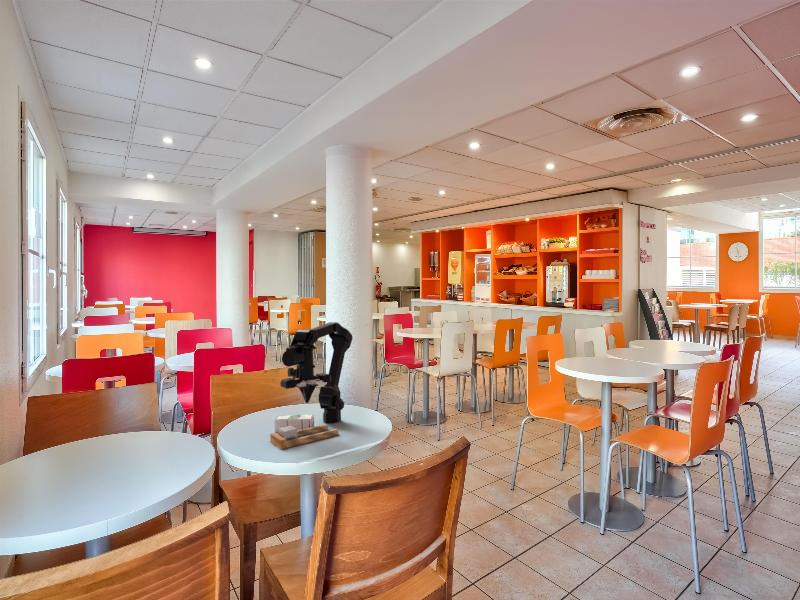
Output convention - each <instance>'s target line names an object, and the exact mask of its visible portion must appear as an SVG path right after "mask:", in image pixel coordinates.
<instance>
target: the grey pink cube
mask: <svg viewBox="0 0 800 600" xmlns="http://www.w3.org/2000/svg"><path fill="white" fill-rule="evenodd" d="M277 434H278V435H280V436H282V437H283V438H285V439H286V441H287V440H292V439H296V438H298V437H297V429H296V428H295V427H293V426H287V427H283V428H278V432H277Z"/></svg>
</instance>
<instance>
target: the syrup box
mask: <svg viewBox="0 0 800 600" xmlns="http://www.w3.org/2000/svg"><path fill="white" fill-rule="evenodd" d="M314 415H315V414H293V415H292V414H289V415H288V414H287V415H285V414H284V415H277V417H276V418H275V419H274V433H278V428H283V427H287V426H293V427H295V428H296V429H297V430H302V429H306V428H311V427H315V416H314Z"/></svg>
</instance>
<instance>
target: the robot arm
mask: <svg viewBox="0 0 800 600" xmlns="http://www.w3.org/2000/svg"><path fill="white" fill-rule="evenodd" d="M326 336H328V337H329V338H330V339H331V346H332V349H333V351H332V357H331V361H330V365H329V371H328V373H326V372H322V373H321V372H320V373H316V374H315V372H314V371H315V370H314V369H316V364H314V350H317V346H315V345H314V344H315V343H317V342H318V341H319V339H321V338H322V337H326ZM352 342H353V335H352V333H351V331H349V329H347V328H345V327H344V326H342V325H341V324H340V322H334V321H330V322H327V323H325V324H322V325H319V326H315V327H313V328H302V329H297V330H296V331H295V334H294V336H293V338H292V341H291V343H290V345H289V347H286V348H285V351H284V352H283V354H282V356H281V361H282V363H283V365H284V366H286V367H289V368H287V378H282V379H281V381H280V387H282V388H284V389H286V390H287V389H295V388H298V389H299V391H300V393H301V395H302V397H303V401H304V403H305V404H308V403H309V402H310V399H311V397H312V396H313V393H314V391H315V390H316V388H317V387H318V386H319V384H318V383H317V382H319V381H320V382H321V381H322V382H323V383H325V385H323V386H320V389H319V393H318V396H317V397H318V404H319V407H320V409H323V413H322V419H323V420H322V421H323V422H322V423H324V424H328V425H329V424H337V423H339V422H341V421H342V411H341V410H343V409H344V407H345V402H344V401H343V399H342V398H341V389H340V387H339V383H340V378H341V373H342V370H343V364H344V359H345V354H346V352H347V351H348V350H349V349H350V347H351V346H352V345H351V344H352ZM294 366H296V368H294Z"/></svg>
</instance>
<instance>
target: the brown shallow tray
mask: <svg viewBox="0 0 800 600" xmlns="http://www.w3.org/2000/svg"><path fill="white" fill-rule="evenodd" d="M269 436H270V437H269V438H270V440H269V443H271V444H273V445H274V446H276V447H277V448H279V449H281V450H282V451H284V450H288V449H291V448H294V447H300V446H304V445H308V444H312V443H316V442H320V441H324V440H328V439H332V438H336V437H340V436H341V435H340V433H339V429H338V428H334V429H329V424H328V423H327V424H326V423H324V424H319V425H316V426H315V425H314V427H311V428H306V429H302V430H297V438H296V439H292V440H287V441H286V439H285V438H283V437H282V436H280V435H278V432H274V433H270V434H269Z"/></svg>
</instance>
